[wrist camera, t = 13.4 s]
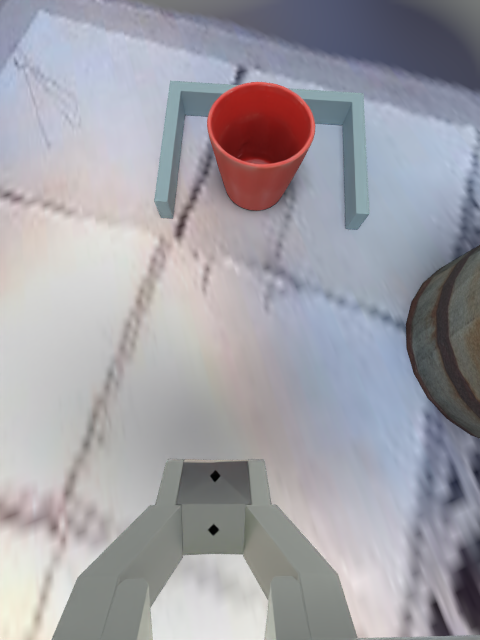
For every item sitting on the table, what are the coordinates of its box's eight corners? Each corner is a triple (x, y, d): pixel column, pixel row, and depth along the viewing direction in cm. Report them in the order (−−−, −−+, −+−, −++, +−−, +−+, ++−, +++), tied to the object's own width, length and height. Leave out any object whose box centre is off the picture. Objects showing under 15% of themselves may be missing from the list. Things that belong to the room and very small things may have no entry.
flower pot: (230, 140, 42) (230, 66, 32) (306, 166, 41) (328, 99, 32) (200, 204, 39) (190, 145, 30) (280, 233, 39) (295, 182, 29)
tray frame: (161, 217, 39) (154, 201, 35) (175, 105, 43) (170, 80, 39) (357, 229, 39) (369, 214, 36) (353, 116, 43) (363, 93, 40)
